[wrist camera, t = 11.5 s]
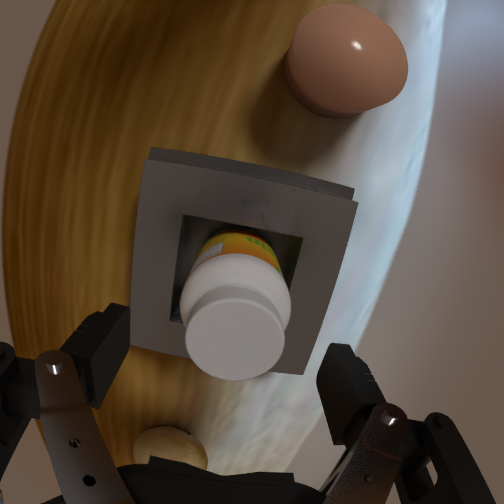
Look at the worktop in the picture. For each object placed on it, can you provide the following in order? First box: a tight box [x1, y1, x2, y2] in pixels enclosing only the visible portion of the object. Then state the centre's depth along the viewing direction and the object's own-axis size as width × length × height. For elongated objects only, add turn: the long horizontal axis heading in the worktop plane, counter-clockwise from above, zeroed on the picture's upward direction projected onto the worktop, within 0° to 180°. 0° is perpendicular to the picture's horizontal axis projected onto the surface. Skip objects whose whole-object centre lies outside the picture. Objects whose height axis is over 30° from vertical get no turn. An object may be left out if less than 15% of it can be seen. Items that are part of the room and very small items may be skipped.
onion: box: [133, 426, 208, 470], centre depth 24 cm, size 8×8×7 cm
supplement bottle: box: [180, 227, 291, 381], centre depth 16 cm, size 5×5×10 cm
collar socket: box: [130, 147, 358, 375], centre depth 20 cm, size 14×14×4 cm
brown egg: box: [284, 4, 408, 118], centre depth 15 cm, size 7×7×5 cm
